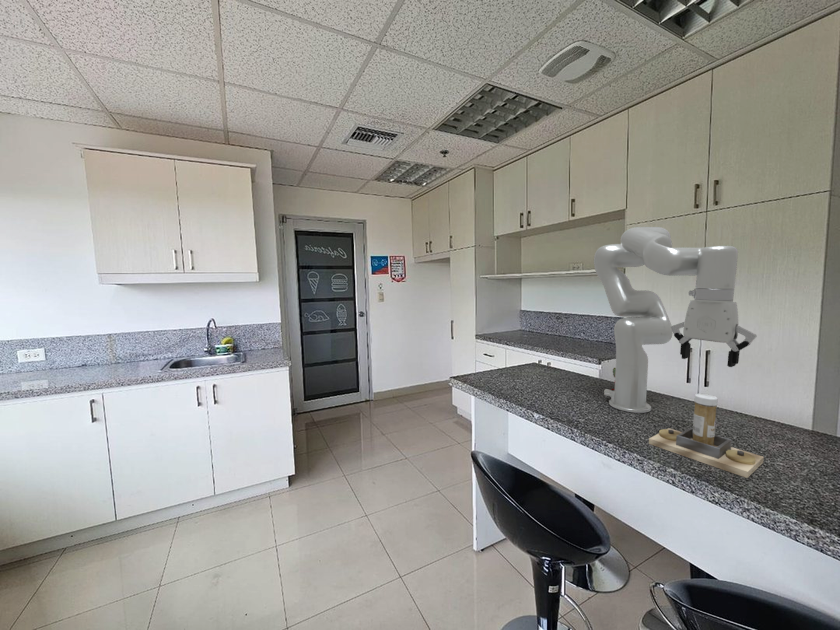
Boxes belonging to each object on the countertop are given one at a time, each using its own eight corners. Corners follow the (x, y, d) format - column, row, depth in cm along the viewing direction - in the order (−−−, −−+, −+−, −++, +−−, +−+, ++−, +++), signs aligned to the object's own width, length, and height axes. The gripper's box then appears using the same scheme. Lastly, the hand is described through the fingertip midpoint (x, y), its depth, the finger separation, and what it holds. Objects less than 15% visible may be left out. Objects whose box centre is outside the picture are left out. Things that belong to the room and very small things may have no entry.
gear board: (648, 443, 94) (649, 429, 94) (668, 433, 100) (669, 419, 100) (747, 478, 77) (748, 461, 77) (763, 462, 84) (764, 446, 83)
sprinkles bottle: (717, 452, 86) (721, 399, 85) (695, 449, 88) (698, 397, 86) (709, 444, 90) (713, 393, 89) (688, 441, 92) (691, 392, 91)
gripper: (667, 294, 93) (663, 357, 95) (754, 298, 78) (746, 372, 80) (680, 293, 97) (675, 353, 99) (765, 297, 82) (757, 367, 84)
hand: (707, 362), depth 90 cm, fingers open, 9 cm apart
